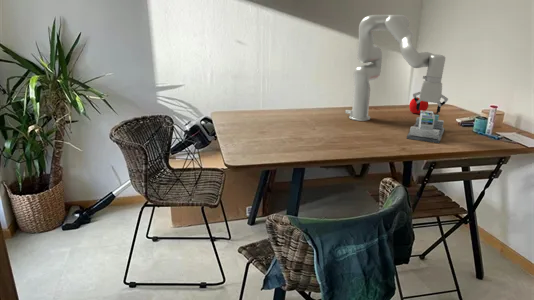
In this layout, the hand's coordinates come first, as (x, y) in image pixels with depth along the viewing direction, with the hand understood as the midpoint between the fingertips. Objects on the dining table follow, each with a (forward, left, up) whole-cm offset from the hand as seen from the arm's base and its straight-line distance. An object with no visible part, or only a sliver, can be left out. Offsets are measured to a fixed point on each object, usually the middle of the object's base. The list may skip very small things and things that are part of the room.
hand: (427, 111), depth 223 cm
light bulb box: (0, 0, -11) cm, 11 cm away
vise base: (+1, +2, -13) cm, 13 cm away
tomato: (-10, +48, -13) cm, 50 cm away
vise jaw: (+1, +14, -11) cm, 17 cm away
